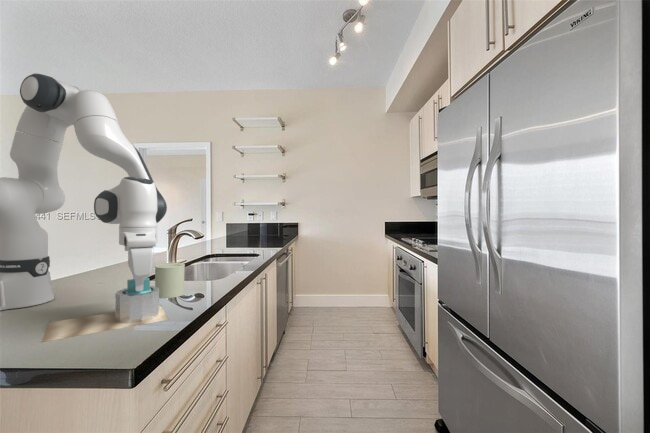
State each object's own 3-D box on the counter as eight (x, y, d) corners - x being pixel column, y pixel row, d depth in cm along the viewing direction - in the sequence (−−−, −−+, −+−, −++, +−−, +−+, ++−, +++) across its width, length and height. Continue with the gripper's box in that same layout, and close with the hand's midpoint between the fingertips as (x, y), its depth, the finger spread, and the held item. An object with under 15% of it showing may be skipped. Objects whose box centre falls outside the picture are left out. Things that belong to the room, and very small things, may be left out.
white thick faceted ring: (106, 322, 78) (106, 295, 78) (133, 309, 88) (133, 285, 88) (143, 323, 78) (143, 296, 78) (166, 311, 88) (166, 286, 87)
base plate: (41, 348, 66) (41, 342, 66) (50, 327, 78) (50, 322, 78) (168, 325, 81) (169, 319, 81) (160, 310, 92) (160, 305, 92)
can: (182, 301, 101) (182, 265, 101) (151, 303, 99) (151, 266, 98) (186, 294, 110) (186, 261, 110) (158, 295, 107) (158, 261, 107)
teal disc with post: (125, 300, 79) (125, 283, 79) (124, 295, 84) (124, 278, 83) (152, 297, 82) (152, 280, 82) (149, 292, 87) (150, 276, 87)
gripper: (122, 234, 89) (122, 281, 89) (127, 241, 72) (126, 299, 73) (147, 234, 93) (147, 279, 93) (157, 240, 76) (156, 295, 77)
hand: (138, 288), depth 83 cm, fingers open, 4 cm apart
